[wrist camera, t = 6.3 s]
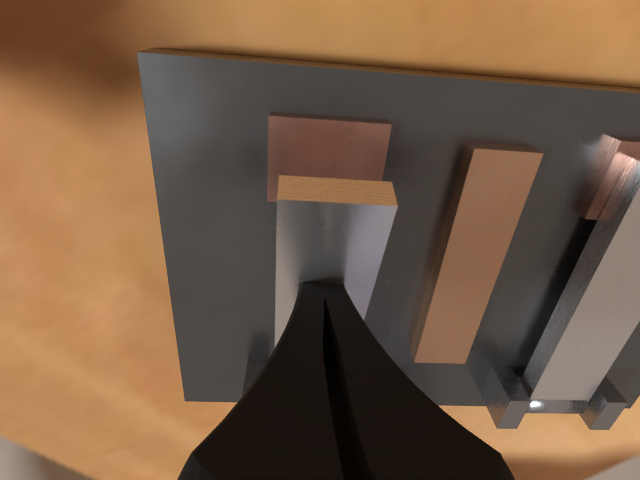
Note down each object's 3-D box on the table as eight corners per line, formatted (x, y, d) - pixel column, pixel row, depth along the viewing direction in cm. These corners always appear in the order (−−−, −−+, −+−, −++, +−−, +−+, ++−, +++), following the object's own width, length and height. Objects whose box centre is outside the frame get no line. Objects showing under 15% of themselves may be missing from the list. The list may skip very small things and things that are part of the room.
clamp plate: (611, 386, 23) (658, 442, 20) (192, 377, 21) (174, 438, 18) (800, 101, 15) (926, 124, 12) (152, 47, 13) (108, 59, 10)
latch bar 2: (565, 395, 21) (581, 420, 19) (509, 394, 20) (523, 419, 19) (702, 159, 14) (740, 173, 13) (624, 154, 14) (654, 168, 13)
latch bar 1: (335, 386, 20) (337, 414, 19) (275, 385, 19) (273, 414, 18) (390, 177, 11) (399, 211, 10) (279, 170, 10) (276, 204, 9)
